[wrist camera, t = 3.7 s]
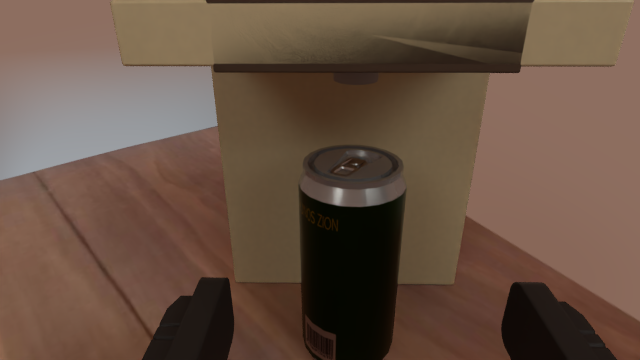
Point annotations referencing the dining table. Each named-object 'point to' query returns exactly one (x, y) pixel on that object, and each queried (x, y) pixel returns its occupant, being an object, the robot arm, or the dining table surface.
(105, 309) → the dining table surface
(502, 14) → the lidded cardboard box
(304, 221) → the beer can
